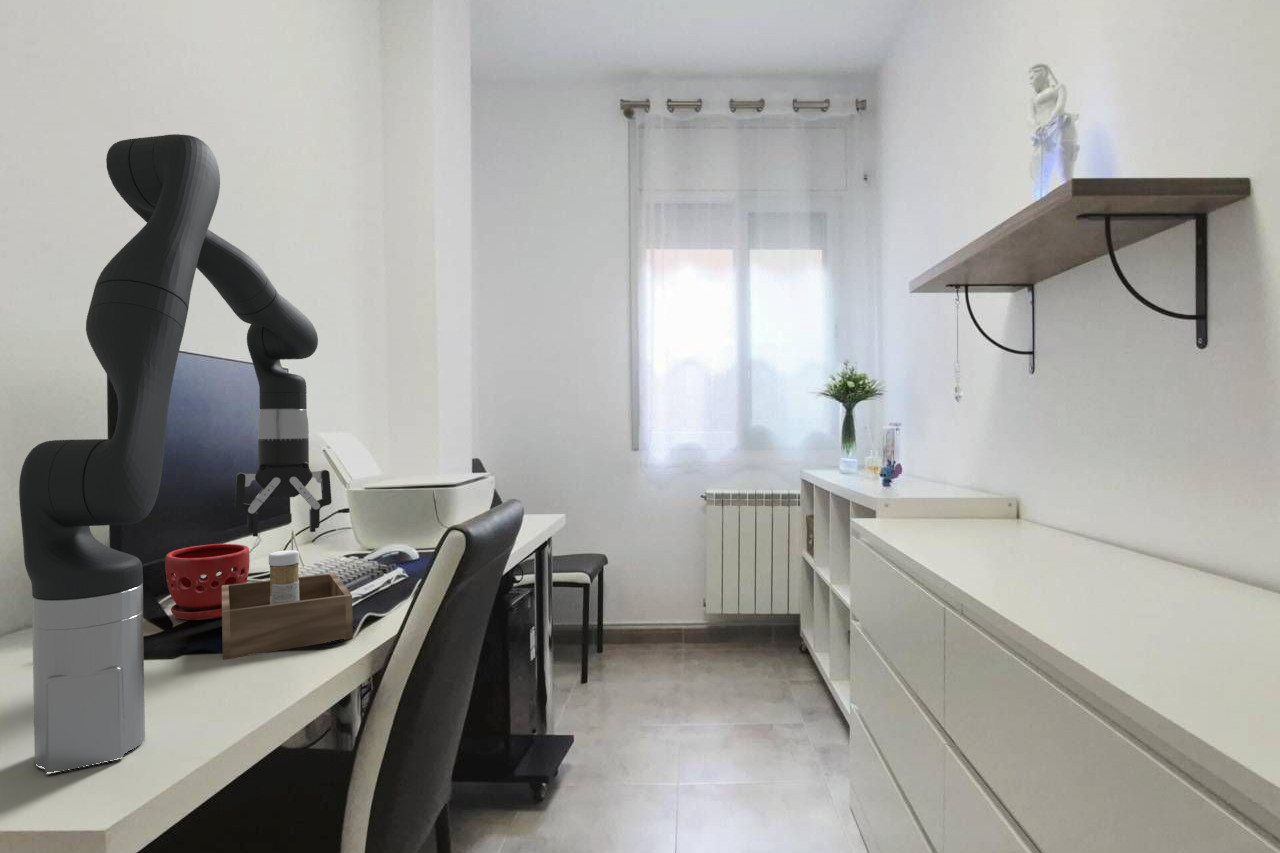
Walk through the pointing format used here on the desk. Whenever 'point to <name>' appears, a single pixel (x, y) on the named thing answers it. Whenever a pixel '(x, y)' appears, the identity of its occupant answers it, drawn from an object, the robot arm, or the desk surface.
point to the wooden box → (284, 616)
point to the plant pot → (204, 594)
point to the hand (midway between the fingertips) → (284, 533)
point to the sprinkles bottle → (284, 576)
